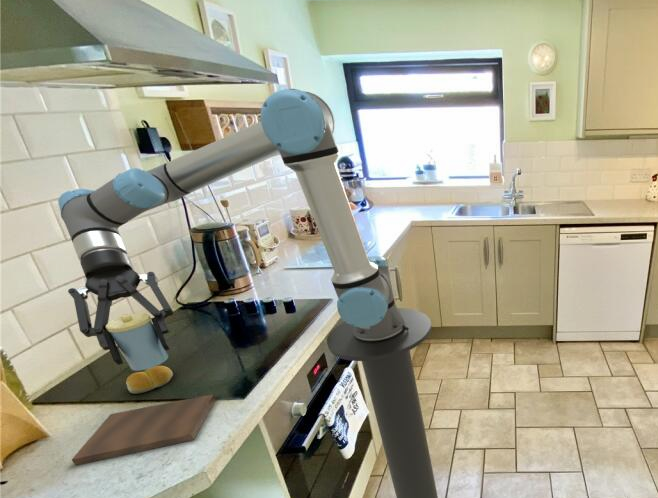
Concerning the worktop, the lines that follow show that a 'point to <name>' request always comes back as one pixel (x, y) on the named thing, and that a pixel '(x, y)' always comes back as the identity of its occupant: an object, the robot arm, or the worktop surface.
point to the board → (146, 429)
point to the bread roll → (148, 379)
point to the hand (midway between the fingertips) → (142, 354)
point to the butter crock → (137, 341)
